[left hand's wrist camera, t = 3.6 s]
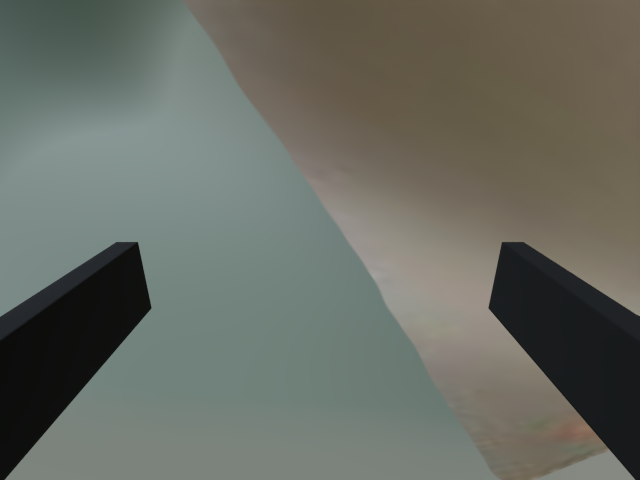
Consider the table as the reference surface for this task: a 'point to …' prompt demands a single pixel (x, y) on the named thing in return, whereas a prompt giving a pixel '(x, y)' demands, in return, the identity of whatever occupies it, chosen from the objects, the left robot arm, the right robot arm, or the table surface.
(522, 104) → the table surface
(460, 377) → the table surface
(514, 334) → the left robot arm
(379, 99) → the table surface
